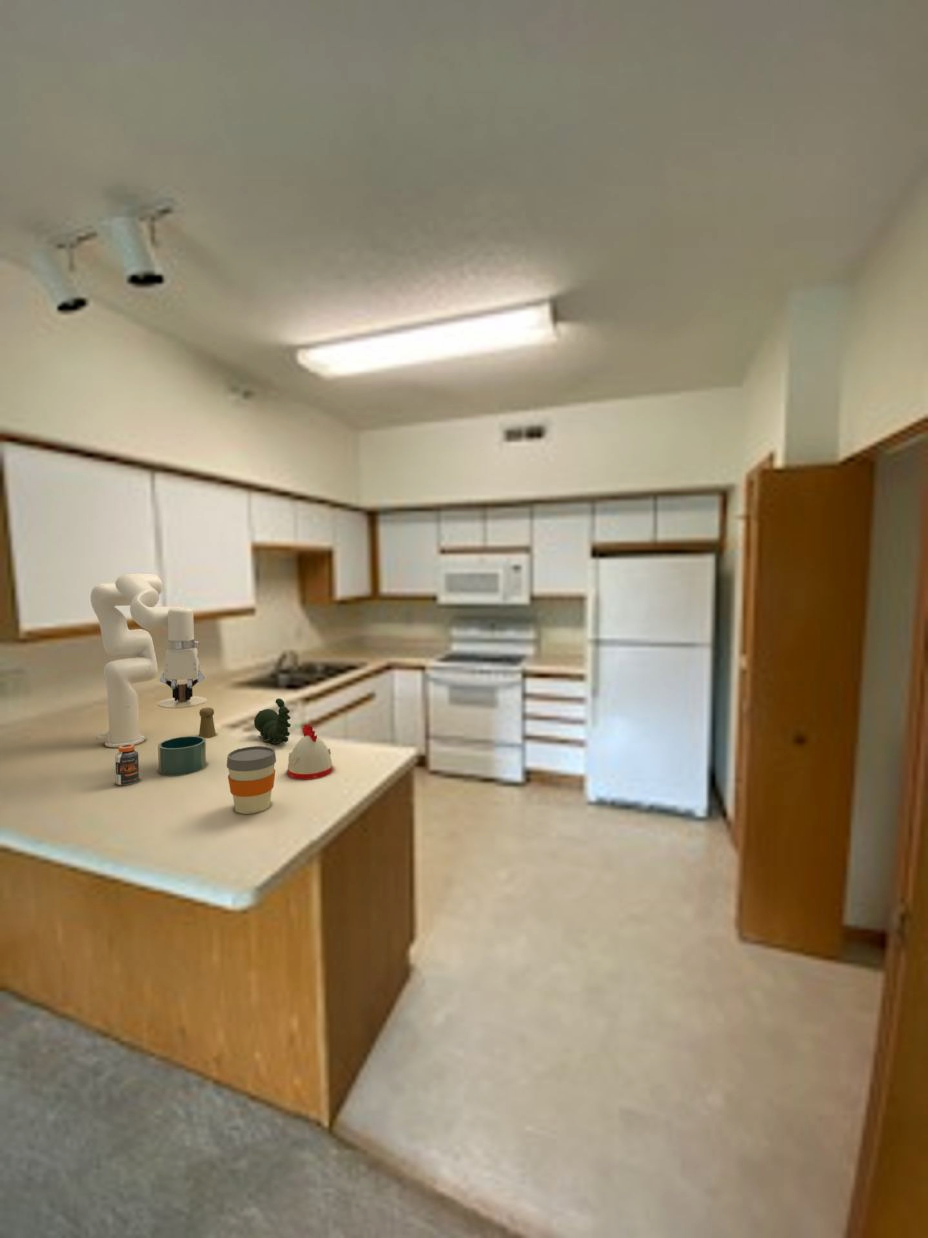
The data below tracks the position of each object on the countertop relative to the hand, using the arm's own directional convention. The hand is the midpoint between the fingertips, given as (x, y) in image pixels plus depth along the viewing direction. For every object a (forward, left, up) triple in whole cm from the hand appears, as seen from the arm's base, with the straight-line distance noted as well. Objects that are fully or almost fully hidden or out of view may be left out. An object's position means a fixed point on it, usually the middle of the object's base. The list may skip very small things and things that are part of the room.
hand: (182, 699), depth 176 cm
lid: (0, 0, -1) cm, 1 cm away
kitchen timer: (+39, -22, -22) cm, 50 cm away
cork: (+4, +31, -22) cm, 38 cm away
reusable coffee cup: (+22, -44, -22) cm, 54 cm away
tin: (0, -5, -22) cm, 22 cm away
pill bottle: (-14, -13, -22) cm, 29 cm away
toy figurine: (+28, +16, -22) cm, 39 cm away
